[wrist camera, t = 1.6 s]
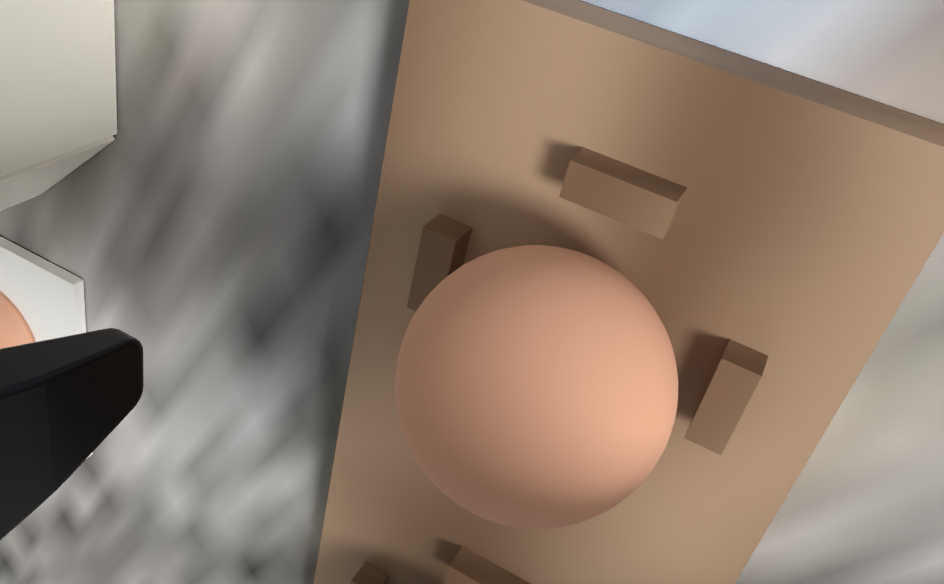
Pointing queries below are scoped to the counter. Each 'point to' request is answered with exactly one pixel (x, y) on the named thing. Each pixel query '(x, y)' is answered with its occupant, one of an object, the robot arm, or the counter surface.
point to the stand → (629, 273)
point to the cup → (53, 91)
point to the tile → (37, 299)
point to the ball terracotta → (536, 387)
